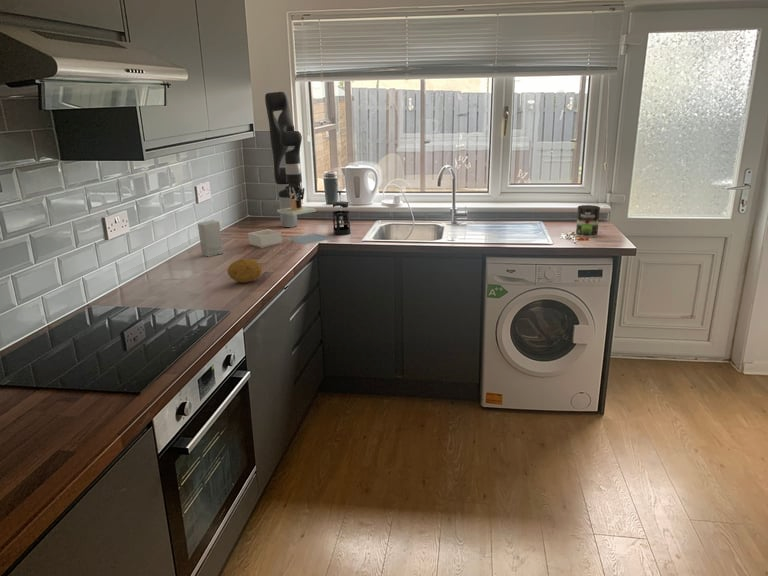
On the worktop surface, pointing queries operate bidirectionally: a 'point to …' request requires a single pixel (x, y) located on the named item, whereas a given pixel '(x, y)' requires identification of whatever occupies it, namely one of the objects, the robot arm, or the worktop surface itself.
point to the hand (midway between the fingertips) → (296, 207)
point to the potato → (244, 270)
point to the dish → (265, 238)
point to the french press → (346, 219)
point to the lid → (296, 209)
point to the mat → (309, 238)
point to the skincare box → (210, 238)
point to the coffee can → (587, 221)
